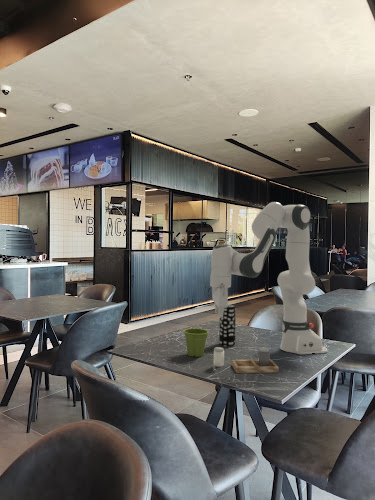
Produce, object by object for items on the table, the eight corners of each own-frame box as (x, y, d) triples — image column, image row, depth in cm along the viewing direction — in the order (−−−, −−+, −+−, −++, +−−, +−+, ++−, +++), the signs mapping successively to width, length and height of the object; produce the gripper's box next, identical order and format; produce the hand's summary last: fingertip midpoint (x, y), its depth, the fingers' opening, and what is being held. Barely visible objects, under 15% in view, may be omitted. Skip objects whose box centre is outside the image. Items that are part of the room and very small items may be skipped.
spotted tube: (217, 345, 193) (217, 306, 193) (221, 341, 201) (222, 304, 200) (232, 347, 190) (233, 307, 190) (237, 343, 198) (237, 305, 197)
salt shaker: (223, 365, 161) (223, 346, 161) (224, 368, 157) (225, 349, 157) (212, 365, 161) (213, 346, 161) (214, 369, 156) (214, 349, 156)
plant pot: (200, 360, 168) (200, 335, 168) (178, 356, 174) (178, 331, 174) (213, 354, 178) (213, 330, 178) (191, 350, 184) (191, 327, 184)
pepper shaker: (267, 366, 157) (268, 347, 157) (270, 369, 153) (271, 350, 153) (257, 366, 157) (257, 347, 157) (260, 370, 153) (260, 350, 152)
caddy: (271, 366, 160) (271, 359, 160) (278, 374, 150) (278, 367, 150) (231, 367, 159) (231, 359, 159) (236, 375, 149) (236, 367, 149)
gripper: (232, 285, 150) (230, 320, 150) (224, 280, 170) (222, 311, 170) (216, 284, 149) (214, 319, 149) (210, 280, 170) (208, 310, 170)
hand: (218, 315), depth 160 cm, fingers open, 8 cm apart
